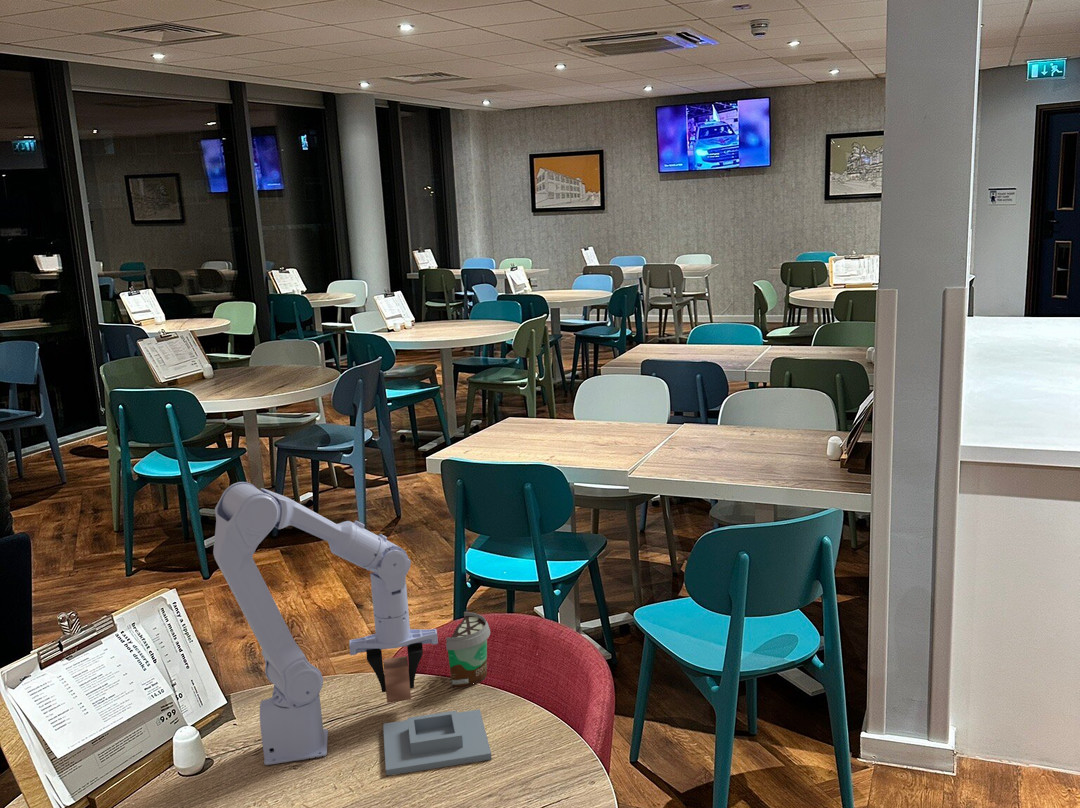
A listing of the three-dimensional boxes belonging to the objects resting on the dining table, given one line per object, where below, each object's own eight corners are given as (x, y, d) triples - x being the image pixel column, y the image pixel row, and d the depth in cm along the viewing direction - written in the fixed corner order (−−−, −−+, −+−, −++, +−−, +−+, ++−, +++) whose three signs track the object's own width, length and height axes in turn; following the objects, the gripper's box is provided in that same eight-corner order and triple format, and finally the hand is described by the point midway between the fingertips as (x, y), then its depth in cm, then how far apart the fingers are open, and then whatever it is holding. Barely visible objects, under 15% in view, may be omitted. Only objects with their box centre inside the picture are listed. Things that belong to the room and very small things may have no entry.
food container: (483, 693, 167) (479, 640, 165) (449, 692, 168) (445, 639, 166) (500, 661, 179) (496, 611, 177) (468, 660, 180) (464, 610, 178)
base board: (386, 776, 143) (384, 757, 143) (383, 729, 157) (382, 712, 156) (491, 759, 146) (490, 741, 146) (480, 714, 160) (478, 698, 159)
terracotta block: (387, 702, 159) (383, 669, 158) (386, 691, 163) (383, 659, 162) (411, 699, 160) (408, 666, 159) (409, 688, 164) (406, 655, 163)
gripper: (432, 597, 164) (438, 671, 166) (347, 608, 161) (354, 682, 164) (436, 613, 157) (442, 689, 160) (346, 624, 155) (354, 702, 157)
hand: (397, 687), depth 161 cm, fingers closed on terracotta block, 4 cm apart
